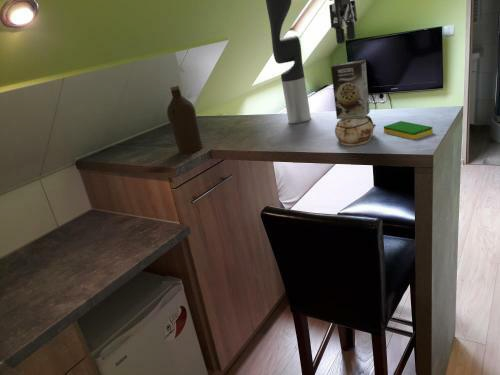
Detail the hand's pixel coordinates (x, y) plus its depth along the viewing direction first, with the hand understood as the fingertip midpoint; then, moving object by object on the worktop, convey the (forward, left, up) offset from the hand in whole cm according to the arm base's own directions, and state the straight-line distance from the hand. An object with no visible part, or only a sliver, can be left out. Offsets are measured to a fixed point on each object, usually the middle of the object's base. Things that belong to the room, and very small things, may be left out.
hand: (346, 41), depth 113 cm
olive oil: (+8, -64, -30) cm, 71 cm away
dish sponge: (-6, +14, -31) cm, 34 cm away
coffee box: (0, 0, -22) cm, 22 cm away
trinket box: (-1, -1, -30) cm, 30 cm away
